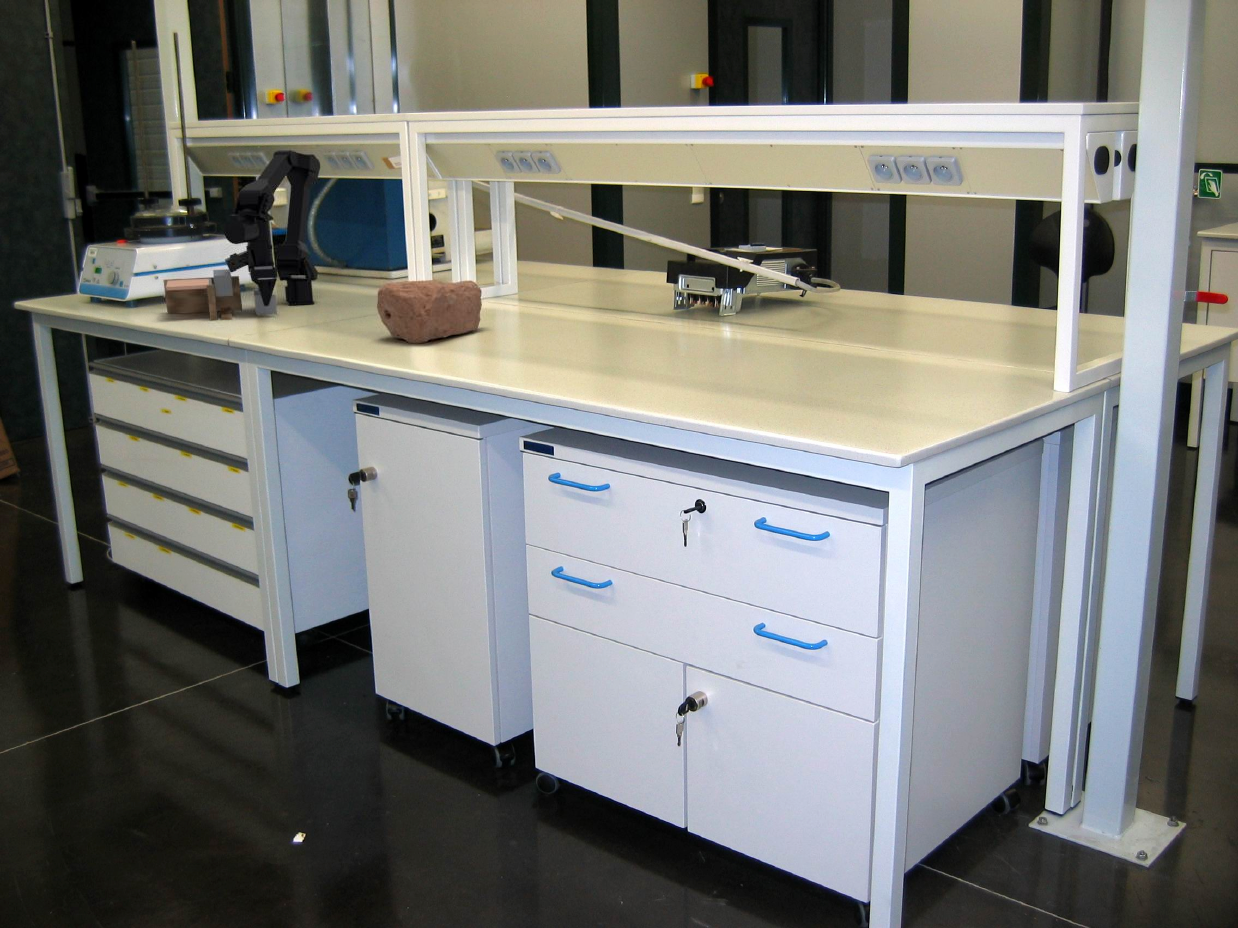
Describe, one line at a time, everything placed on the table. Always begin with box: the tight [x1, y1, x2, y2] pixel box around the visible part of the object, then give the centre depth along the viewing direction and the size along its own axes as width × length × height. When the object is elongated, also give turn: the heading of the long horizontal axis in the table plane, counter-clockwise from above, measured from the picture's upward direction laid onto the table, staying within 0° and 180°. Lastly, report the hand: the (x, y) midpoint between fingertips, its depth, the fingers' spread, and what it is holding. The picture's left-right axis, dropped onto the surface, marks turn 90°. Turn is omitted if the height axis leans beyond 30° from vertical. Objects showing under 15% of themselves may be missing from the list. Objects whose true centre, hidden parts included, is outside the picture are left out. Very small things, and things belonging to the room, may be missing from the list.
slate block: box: [253, 288, 278, 316], centre depth 284 cm, size 5×5×6 cm
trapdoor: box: [166, 268, 233, 297], centre depth 279 cm, size 15×14×5 cm
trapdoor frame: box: [163, 275, 243, 321], centre depth 280 cm, size 18×17×8 cm
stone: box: [376, 279, 483, 344], centre depth 248 cm, size 16×26×15 cm, turn 142°
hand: (265, 303), depth 284 cm, fingers open, 9 cm apart
